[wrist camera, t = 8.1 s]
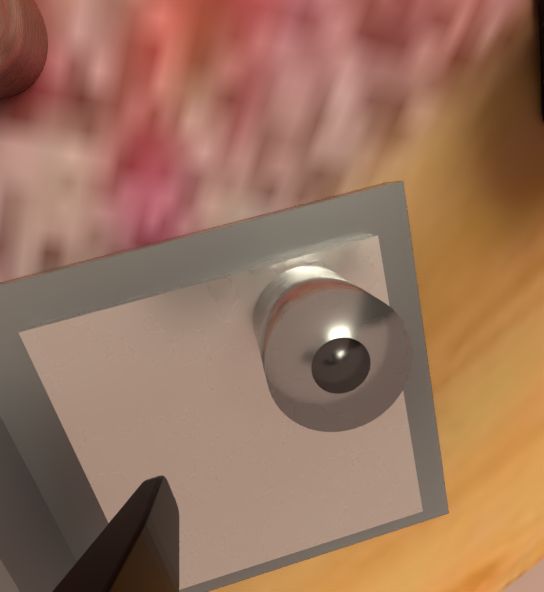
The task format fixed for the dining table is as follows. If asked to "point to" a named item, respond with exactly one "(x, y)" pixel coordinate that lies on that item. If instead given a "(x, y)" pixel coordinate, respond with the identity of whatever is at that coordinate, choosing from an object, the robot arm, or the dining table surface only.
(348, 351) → the cylinder
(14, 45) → the steel spacer
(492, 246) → the dining table surface
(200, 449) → the kitchen scale
